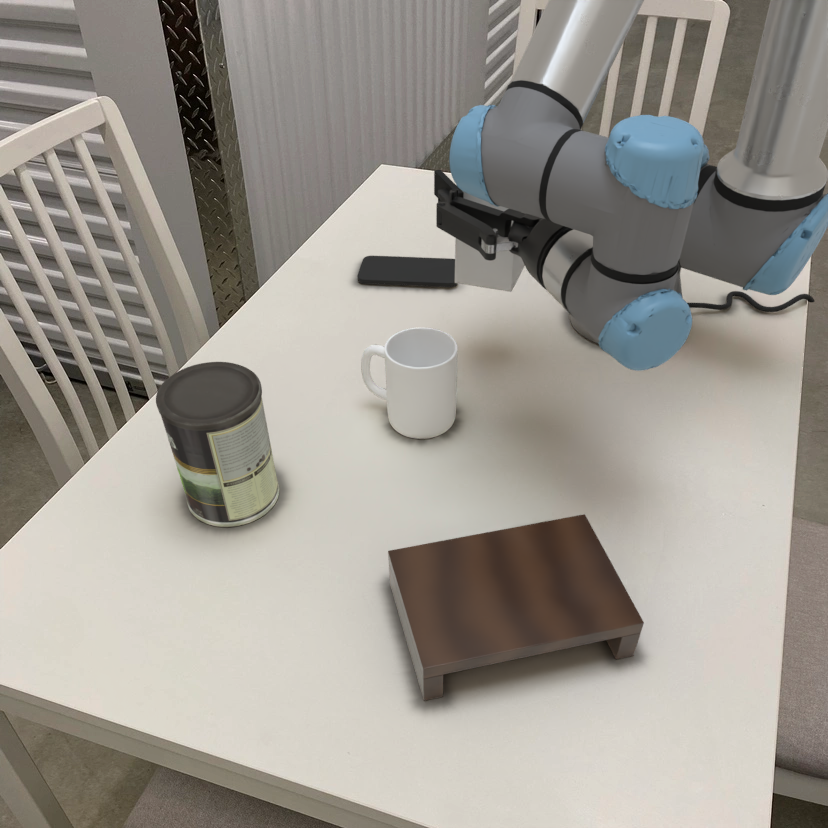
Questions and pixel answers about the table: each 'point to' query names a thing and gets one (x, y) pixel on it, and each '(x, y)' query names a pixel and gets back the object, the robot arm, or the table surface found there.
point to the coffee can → (220, 442)
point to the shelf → (509, 598)
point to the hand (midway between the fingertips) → (479, 174)
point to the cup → (417, 380)
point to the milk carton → (486, 263)
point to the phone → (407, 271)
